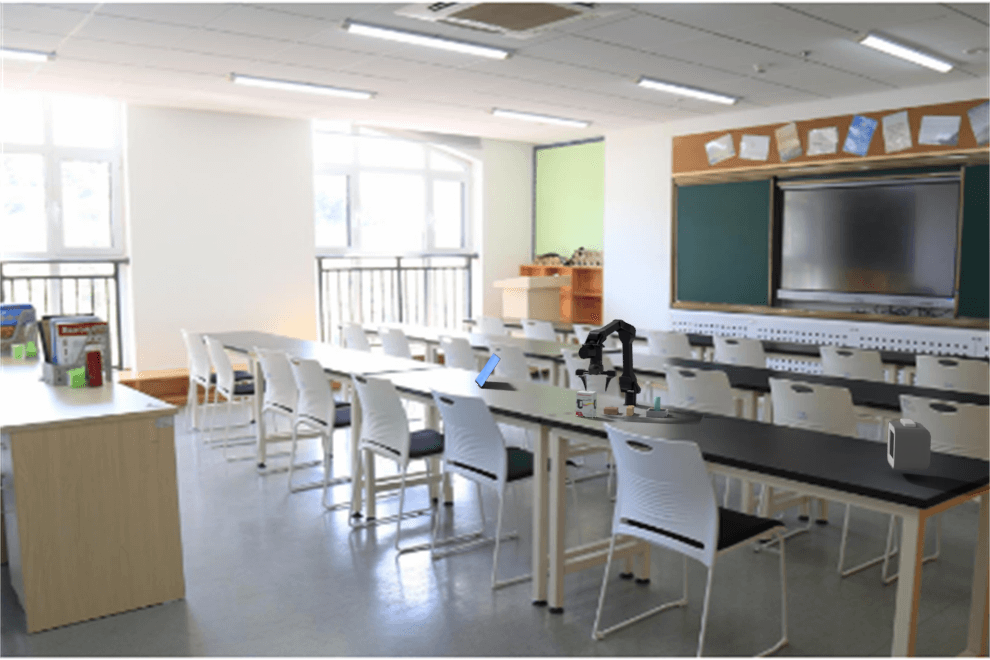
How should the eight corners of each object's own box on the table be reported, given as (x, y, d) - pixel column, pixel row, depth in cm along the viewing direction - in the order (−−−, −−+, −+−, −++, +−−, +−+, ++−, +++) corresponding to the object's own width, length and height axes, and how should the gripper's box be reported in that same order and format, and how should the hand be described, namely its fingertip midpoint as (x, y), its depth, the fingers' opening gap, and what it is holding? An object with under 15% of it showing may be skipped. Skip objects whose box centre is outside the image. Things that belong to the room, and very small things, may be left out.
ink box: (575, 417, 394) (575, 391, 393) (579, 415, 399) (579, 390, 398) (592, 418, 390) (593, 392, 389) (596, 417, 395) (597, 391, 394)
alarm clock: (886, 460, 304) (888, 416, 303) (922, 462, 301) (923, 417, 300) (893, 470, 289) (895, 424, 288) (931, 473, 285) (933, 426, 284)
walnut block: (605, 412, 408) (605, 406, 408) (618, 413, 407) (618, 407, 406) (603, 415, 403) (603, 408, 402) (616, 415, 401) (616, 409, 401)
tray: (648, 413, 404) (648, 408, 404) (668, 414, 402) (668, 408, 402) (646, 416, 396) (646, 411, 396) (666, 417, 393) (666, 412, 393)
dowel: (652, 414, 399) (653, 397, 398) (656, 413, 401) (656, 396, 400) (657, 415, 397) (658, 397, 396) (661, 414, 399) (661, 397, 398)
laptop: (439, 385, 507) (439, 354, 505) (494, 384, 511) (493, 353, 509) (443, 392, 477) (443, 359, 476) (501, 391, 481) (500, 358, 480)
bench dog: (628, 413, 406) (628, 405, 406) (634, 413, 405) (634, 405, 405) (626, 415, 398) (626, 408, 398) (631, 416, 398) (631, 408, 397)
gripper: (573, 358, 399) (572, 392, 400) (613, 359, 394) (613, 394, 395) (577, 356, 410) (577, 389, 411) (617, 357, 405) (616, 391, 406)
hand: (595, 391), depth 405 cm, fingers open, 9 cm apart
